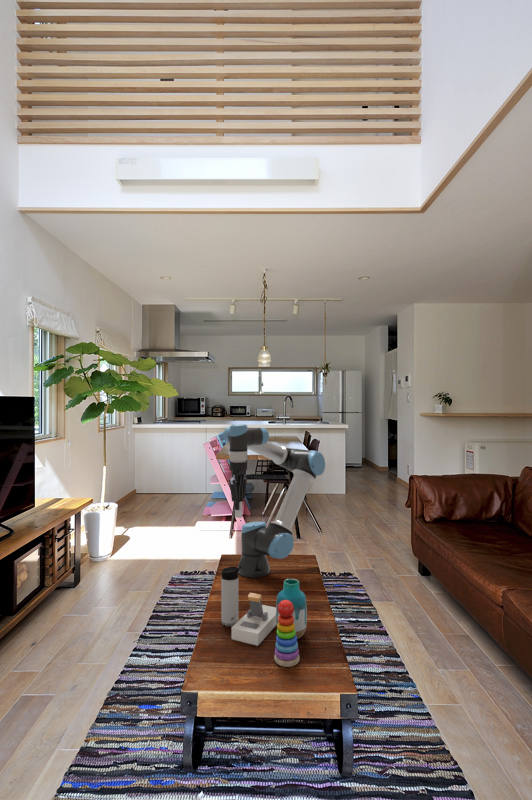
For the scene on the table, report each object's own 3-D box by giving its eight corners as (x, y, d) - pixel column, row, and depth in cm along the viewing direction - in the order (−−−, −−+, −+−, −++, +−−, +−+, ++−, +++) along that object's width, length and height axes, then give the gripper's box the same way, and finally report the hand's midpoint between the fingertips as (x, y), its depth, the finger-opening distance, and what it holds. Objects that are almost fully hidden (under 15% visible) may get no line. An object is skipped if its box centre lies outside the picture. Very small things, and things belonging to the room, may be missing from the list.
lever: (253, 613, 164) (250, 592, 162) (264, 615, 162) (261, 594, 160) (250, 617, 163) (247, 596, 160) (262, 619, 161) (258, 598, 158)
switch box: (257, 614, 174) (257, 598, 174) (281, 619, 169) (281, 603, 169) (231, 639, 155) (231, 621, 155) (257, 645, 151) (257, 627, 151)
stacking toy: (298, 653, 147) (298, 595, 147) (300, 668, 139) (300, 606, 139) (273, 653, 146) (273, 595, 146) (274, 668, 138) (274, 606, 138)
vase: (290, 626, 164) (290, 573, 164) (313, 637, 157) (313, 581, 157) (269, 636, 157) (269, 581, 157) (292, 648, 149) (292, 590, 149)
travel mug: (236, 627, 163) (236, 571, 163) (219, 625, 165) (219, 570, 164) (241, 619, 169) (241, 565, 169) (224, 617, 171) (224, 564, 171)
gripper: (237, 458, 199) (237, 512, 199) (222, 462, 187) (222, 519, 187) (253, 459, 196) (253, 514, 196) (239, 463, 184) (239, 521, 184)
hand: (238, 517), depth 192 cm, fingers closed
